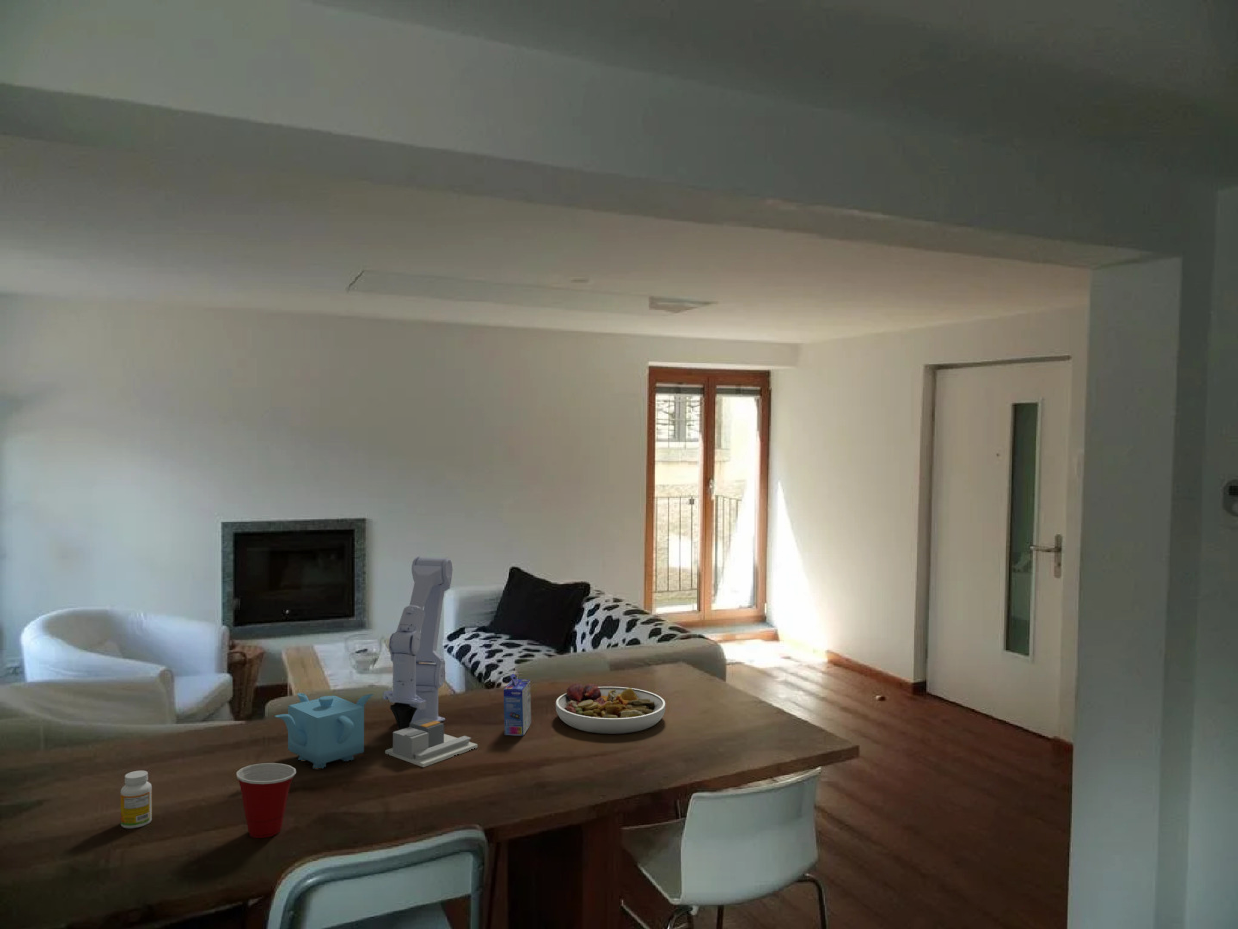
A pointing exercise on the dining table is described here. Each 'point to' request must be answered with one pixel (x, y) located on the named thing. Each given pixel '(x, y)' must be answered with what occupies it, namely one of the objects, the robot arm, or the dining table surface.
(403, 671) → the robot arm
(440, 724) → the block
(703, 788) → the dining table surface
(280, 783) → the plastic cup
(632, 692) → the bowl
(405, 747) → the rail plate
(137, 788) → the supplement bottle
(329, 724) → the teakettle
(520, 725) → the ink cartridge box
